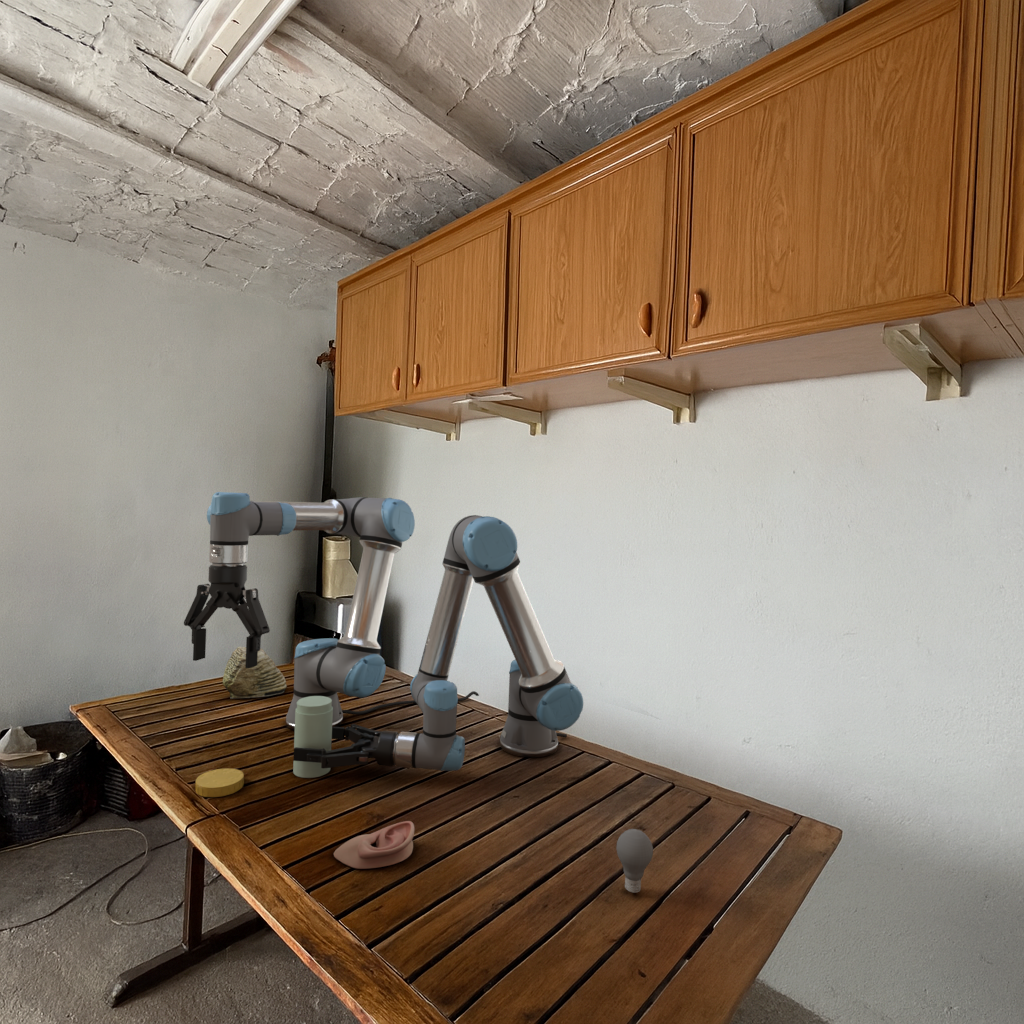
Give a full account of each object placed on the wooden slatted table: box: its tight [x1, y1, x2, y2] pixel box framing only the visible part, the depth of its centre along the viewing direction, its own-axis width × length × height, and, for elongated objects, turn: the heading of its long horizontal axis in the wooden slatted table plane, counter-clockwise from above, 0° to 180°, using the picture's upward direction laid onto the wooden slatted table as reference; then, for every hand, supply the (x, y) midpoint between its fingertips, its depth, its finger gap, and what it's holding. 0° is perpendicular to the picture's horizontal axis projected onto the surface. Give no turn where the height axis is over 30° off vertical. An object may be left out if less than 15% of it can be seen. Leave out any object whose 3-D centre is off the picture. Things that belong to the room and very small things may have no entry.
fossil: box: [222, 646, 288, 699], centre depth 198 cm, size 9×18×15 cm, turn 132°
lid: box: [194, 767, 245, 798], centre depth 136 cm, size 10×10×2 cm
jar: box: [292, 696, 333, 779], centre depth 146 cm, size 8×8×16 cm
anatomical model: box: [333, 820, 415, 870], centre depth 114 cm, size 13×4×12 cm
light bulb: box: [615, 828, 654, 894], centre depth 106 cm, size 6×6×10 cm
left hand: (224, 663), depth 136 cm, fingers open, 13 cm apart
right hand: (306, 742), depth 146 cm, fingers open, 13 cm apart
